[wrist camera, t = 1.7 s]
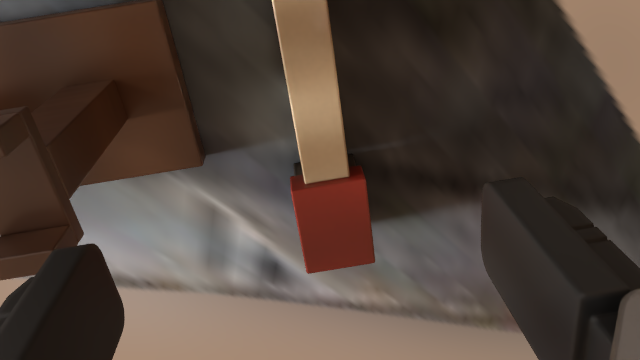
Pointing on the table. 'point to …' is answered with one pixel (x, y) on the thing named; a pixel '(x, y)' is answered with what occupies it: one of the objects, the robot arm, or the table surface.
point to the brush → (321, 144)
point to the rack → (84, 118)
